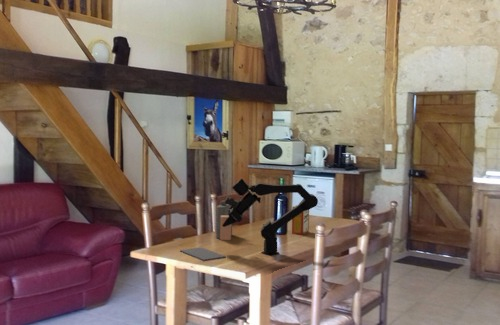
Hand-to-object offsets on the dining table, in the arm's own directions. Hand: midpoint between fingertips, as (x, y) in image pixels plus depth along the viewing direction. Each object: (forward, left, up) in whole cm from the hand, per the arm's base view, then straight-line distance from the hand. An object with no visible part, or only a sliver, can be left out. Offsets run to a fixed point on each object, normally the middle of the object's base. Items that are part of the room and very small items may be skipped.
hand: (222, 225), depth 258 cm
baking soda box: (+18, -66, -14) cm, 70 cm away
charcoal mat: (+3, +10, -14) cm, 17 cm away
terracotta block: (-1, -1, -7) cm, 7 cm away
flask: (+33, -22, -14) cm, 42 cm away
